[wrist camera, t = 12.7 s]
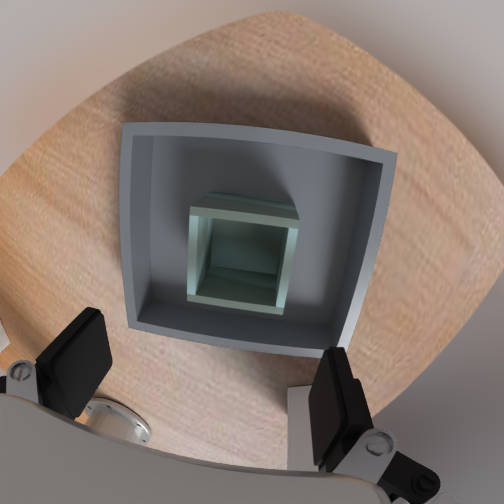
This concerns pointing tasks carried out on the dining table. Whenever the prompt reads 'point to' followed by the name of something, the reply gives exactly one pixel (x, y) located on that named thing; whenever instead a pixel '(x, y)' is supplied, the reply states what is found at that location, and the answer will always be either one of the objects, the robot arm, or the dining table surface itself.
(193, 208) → the teal crate
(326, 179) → the charcoal crate
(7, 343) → the medicine bottle
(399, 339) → the dining table surface
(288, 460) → the milk carton
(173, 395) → the dining table surface
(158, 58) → the dining table surface
